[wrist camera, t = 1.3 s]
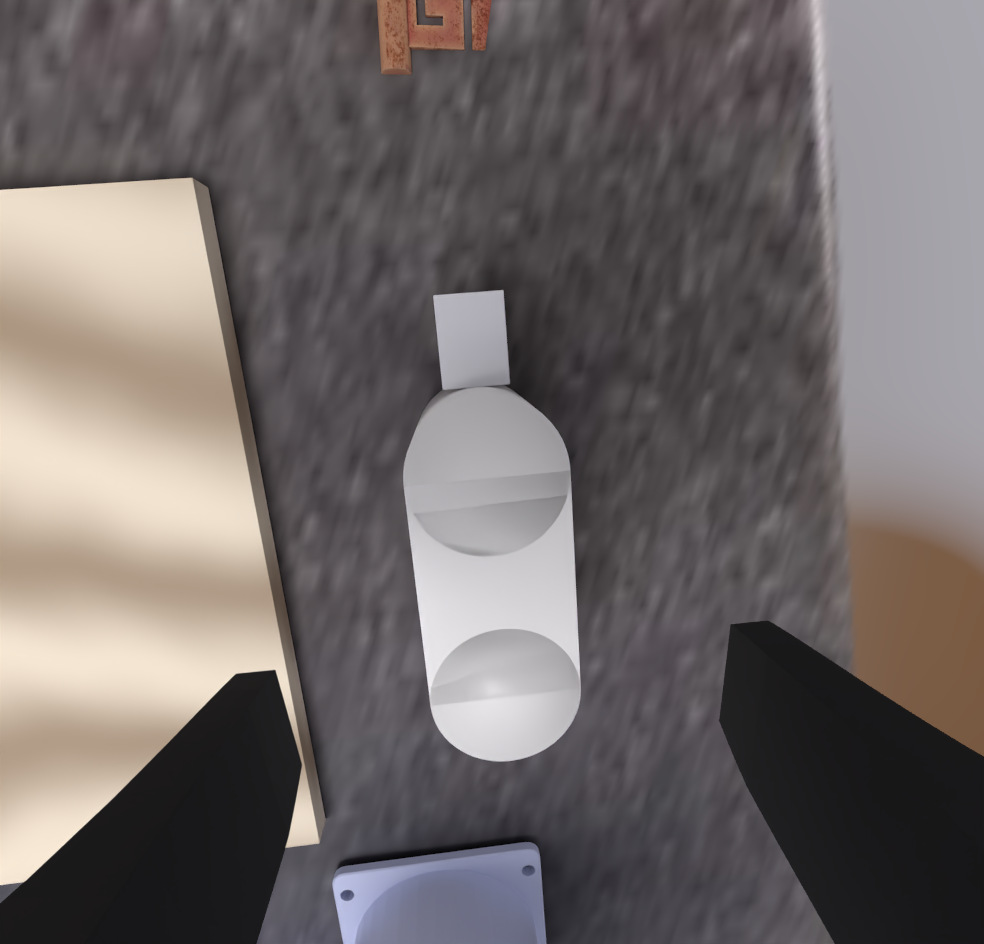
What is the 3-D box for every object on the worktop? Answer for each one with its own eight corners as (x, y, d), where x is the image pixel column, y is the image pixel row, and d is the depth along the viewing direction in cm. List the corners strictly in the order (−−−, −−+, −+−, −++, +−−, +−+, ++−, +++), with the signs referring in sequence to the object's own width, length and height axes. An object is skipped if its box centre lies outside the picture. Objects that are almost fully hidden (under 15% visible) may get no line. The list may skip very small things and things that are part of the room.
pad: (325, 819, 21) (319, 843, 20) (-61, 869, 20) (-87, 896, 19) (208, 187, 16) (192, 177, 15) (-322, 222, 15) (-376, 213, 14)
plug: (551, 651, 20) (583, 751, 15) (441, 664, 20) (438, 770, 15) (529, 295, 17) (561, 278, 12) (400, 305, 17) (379, 292, 12)
